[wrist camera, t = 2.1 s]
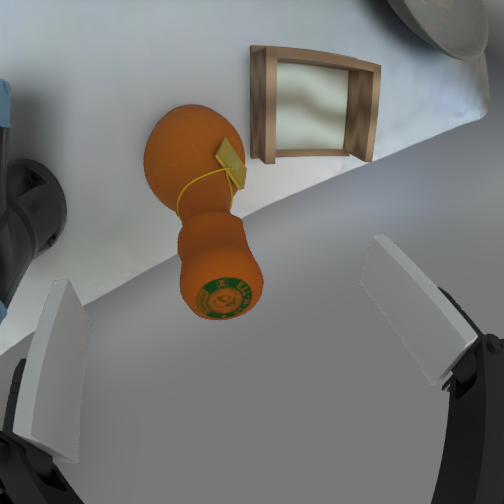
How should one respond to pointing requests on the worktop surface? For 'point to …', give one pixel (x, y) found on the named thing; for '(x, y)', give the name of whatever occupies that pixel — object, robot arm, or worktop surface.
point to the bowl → (447, 24)
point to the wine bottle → (205, 209)
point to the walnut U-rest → (312, 104)
